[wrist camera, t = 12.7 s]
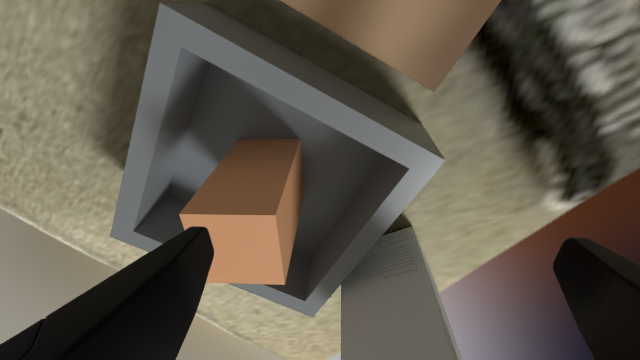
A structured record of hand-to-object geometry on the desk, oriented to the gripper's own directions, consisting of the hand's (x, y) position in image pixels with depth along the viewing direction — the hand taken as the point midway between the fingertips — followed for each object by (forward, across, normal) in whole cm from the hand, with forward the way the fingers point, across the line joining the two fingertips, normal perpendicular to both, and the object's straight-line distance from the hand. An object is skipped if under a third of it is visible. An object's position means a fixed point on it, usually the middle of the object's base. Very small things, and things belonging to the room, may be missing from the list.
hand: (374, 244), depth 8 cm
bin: (+12, +6, +4) cm, 14 cm away
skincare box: (+12, -2, +12) cm, 18 cm away
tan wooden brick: (+11, +6, +4) cm, 13 cm away
